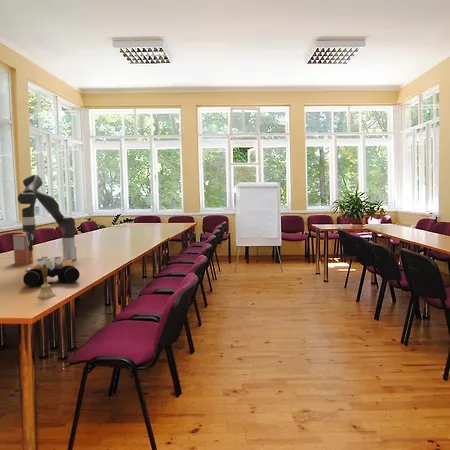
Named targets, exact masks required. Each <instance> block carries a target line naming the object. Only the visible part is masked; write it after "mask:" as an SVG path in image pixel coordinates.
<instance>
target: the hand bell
mask: <svg viewBox="0 0 450 450" xmlns="http://www.w3.org/2000/svg"><path fill="white" fill-rule="evenodd" d="M42 274H43V277H44V284H43V285H40V291H39V294H38V295H37V299H47V298H52V297H55V296H56V293H55V292H54V291H53V290H52V289H53V288H52V285H51V284H49V283H48V277H47V274H48V269H47V266H46V264H43V267H42Z"/></svg>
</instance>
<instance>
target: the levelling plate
mask: <svg viewBox="0 0 450 450" xmlns="http://www.w3.org/2000/svg"><path fill="white" fill-rule="evenodd" d="M40 259H44V260H45V264H46V266H47V268H50V269H53V268H60V267H54V259H53V260H52V258H51V257H49V256H42V257H40ZM62 267H64V266H62ZM29 270H31V267H28V268H27V267H26V268H25V272H26V273H27V272H28V271H29Z"/></svg>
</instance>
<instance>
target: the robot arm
mask: <svg viewBox="0 0 450 450" xmlns="http://www.w3.org/2000/svg"><path fill="white" fill-rule="evenodd" d="M22 182H23V183H22V184H23V185H24V187H25V188H24V190H23V191H21V192H20V193H19V194H18V196H17V202H18V203H19V204H21V205H29V206H28V207H23V208H22V209H21V218H22V220H21V221H22V222H21V223H22V231H23V233H25V234H26V236H25V238H26V242H27V244H28V249H29V251H32V252H33V249H34V248H33V247H34V246H33V245H34V243H35V237H36V236H35V235H34V233H33V232H36V230H37V229H36V227H37V226H36V219H35V206H36V203H37V200H38V201H39V203H40V204H41V205H42V206H43V207H44V209H45V210H46V211H47V212H48V213H49V214H50V216H51V217H52V218H53V219H54V221H55V222H56V223H57V225H58V226H59V228H61V229H62V230H65V232H64V233H62V234H61V244H62V245H61V247H62V248H61V249H62V261H65V260H72V261H73V260H74V261H75V260H77V259H78V258H77V257H78V256H77V247H76V241H75V240H76V239H75V237H76V236H75V235H76V222H75V219H74V218H73V217H71V216H64V215H63V214H62V213H61V210H60V206H59V203H58V202H57V200H55V198H54V197H53V196H52V195H49V194H46V193H43V192H41V191H40V190H39V189H40V187H42V186H43V181H42V178H41V177H40V176H39V175H38V174H32V175H30V176H28V177H26V178H24V179H23V181H22Z"/></svg>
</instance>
